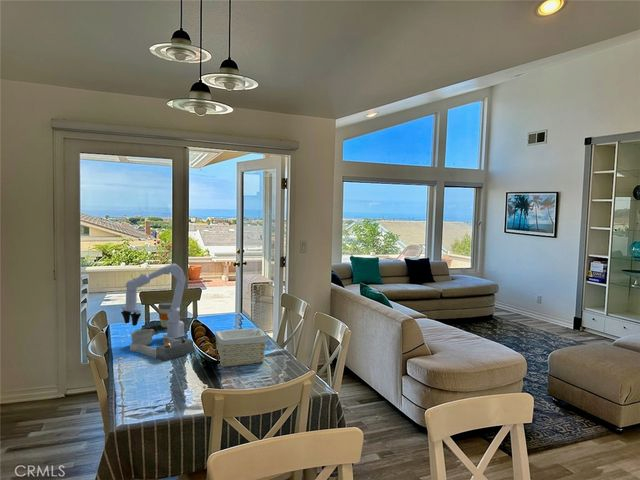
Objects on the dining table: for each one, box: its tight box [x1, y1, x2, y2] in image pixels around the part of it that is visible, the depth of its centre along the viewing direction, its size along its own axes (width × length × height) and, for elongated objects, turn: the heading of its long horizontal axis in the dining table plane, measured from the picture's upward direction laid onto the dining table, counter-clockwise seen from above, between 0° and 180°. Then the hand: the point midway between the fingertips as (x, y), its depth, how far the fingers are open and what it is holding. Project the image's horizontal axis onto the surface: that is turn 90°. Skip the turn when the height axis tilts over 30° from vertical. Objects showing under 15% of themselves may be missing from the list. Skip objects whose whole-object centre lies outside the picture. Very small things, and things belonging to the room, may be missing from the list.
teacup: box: [131, 328, 155, 346], centre depth 241 cm, size 14×11×8 cm
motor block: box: [129, 334, 194, 362], centre depth 231 cm, size 22×28×7 cm
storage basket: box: [214, 328, 268, 368], centre depth 218 cm, size 24×16×15 cm
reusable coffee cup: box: [157, 300, 173, 328], centre depth 282 cm, size 13×12×15 cm
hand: (130, 324), depth 247 cm, fingers open, 7 cm apart
